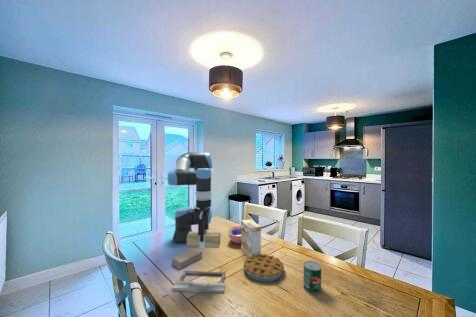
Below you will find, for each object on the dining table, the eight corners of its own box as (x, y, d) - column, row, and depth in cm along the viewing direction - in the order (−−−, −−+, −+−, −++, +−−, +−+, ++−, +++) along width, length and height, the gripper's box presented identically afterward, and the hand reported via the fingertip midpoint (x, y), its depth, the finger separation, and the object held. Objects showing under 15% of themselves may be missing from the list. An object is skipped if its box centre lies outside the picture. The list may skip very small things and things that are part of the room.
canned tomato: (307, 281, 100) (307, 259, 100) (323, 287, 95) (323, 264, 95) (300, 289, 94) (300, 265, 94) (318, 296, 89) (318, 272, 89)
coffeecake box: (240, 249, 134) (240, 220, 134) (250, 247, 137) (250, 218, 136) (251, 260, 120) (251, 227, 120) (261, 257, 123) (261, 226, 123)
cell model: (256, 239, 150) (256, 224, 150) (242, 250, 133) (242, 233, 133) (237, 234, 159) (237, 220, 159) (222, 244, 142) (222, 228, 142)
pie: (286, 264, 116) (286, 255, 116) (281, 288, 95) (281, 277, 95) (249, 258, 123) (249, 250, 123) (237, 278, 102) (237, 268, 102)
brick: (180, 270, 110) (180, 261, 110) (171, 265, 115) (171, 256, 115) (202, 258, 123) (202, 250, 123) (193, 254, 128) (194, 246, 128)
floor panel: (182, 272, 107) (182, 270, 107) (227, 274, 105) (227, 272, 105) (172, 290, 93) (172, 287, 93) (223, 292, 91) (223, 290, 91)
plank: (189, 243, 105) (189, 231, 105) (220, 243, 104) (220, 232, 104) (186, 247, 100) (186, 235, 100) (218, 248, 99) (218, 235, 99)
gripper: (200, 195, 111) (200, 237, 111) (191, 202, 93) (191, 253, 93) (214, 195, 110) (214, 238, 110) (207, 203, 92) (207, 253, 92)
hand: (203, 244), depth 102 cm, fingers closed on plank, 5 cm apart
